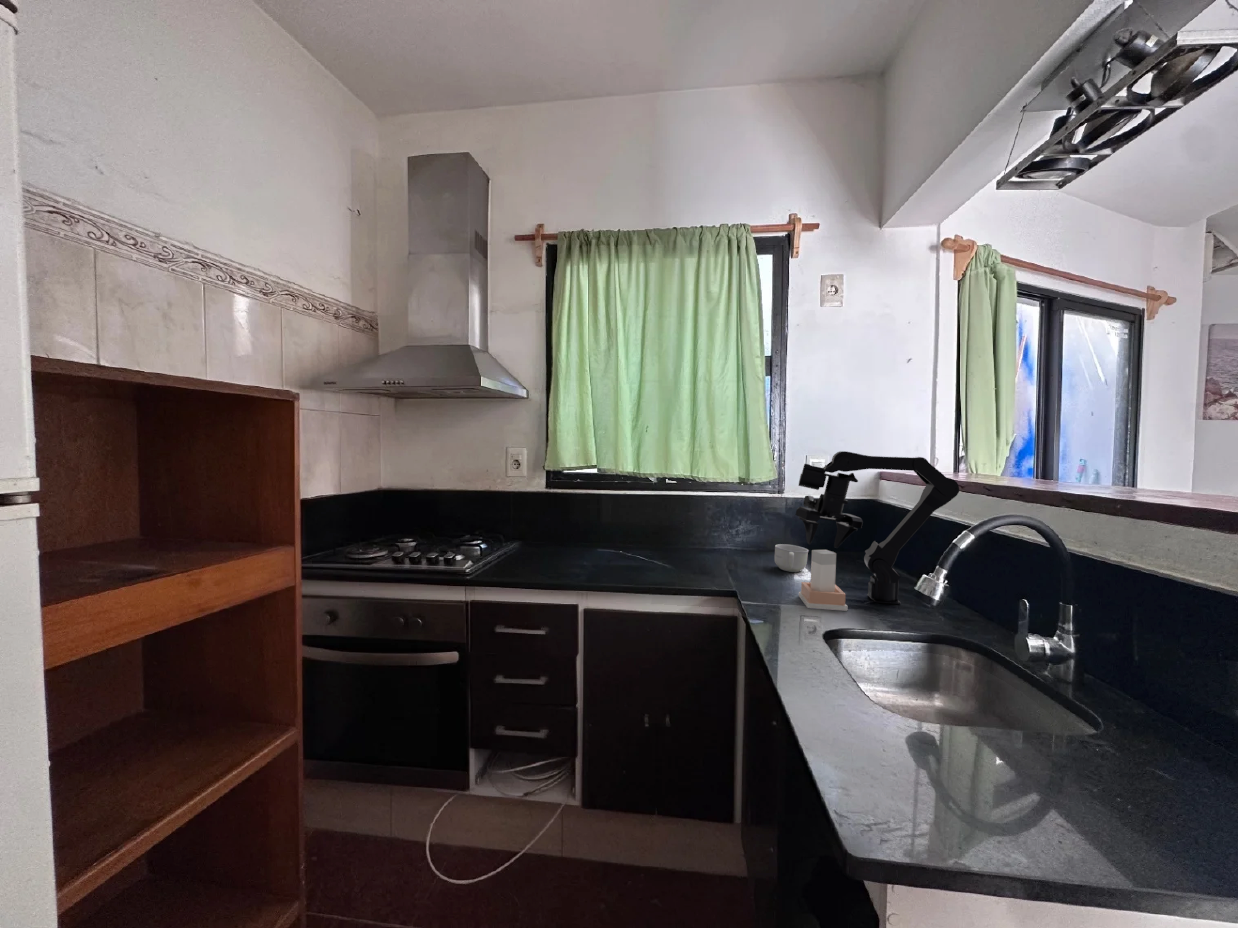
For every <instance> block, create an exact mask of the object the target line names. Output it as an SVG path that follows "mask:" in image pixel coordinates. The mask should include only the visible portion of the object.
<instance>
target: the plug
mask: <svg viewBox="0 0 1238 928" xmlns="http://www.w3.org/2000/svg"><path fill="white" fill-rule="evenodd" d="M810 563H811V565H810V582H811V586H810V589H811V590H812V591H820V592H835V584H836V571H837V569H836V568H837V553H836V552H834V551H831V550H828V549H812V550H811V561H810Z"/></svg>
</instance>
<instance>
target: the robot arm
mask: <svg viewBox="0 0 1238 928" xmlns="http://www.w3.org/2000/svg"><path fill="white" fill-rule="evenodd" d="M863 470H890V471H891V470H892V471H910V472H911V471H912V472H914V473H915V474H916V476H918V477H919V479H920V480H921V481H922V482H923V483H924V484H925V486H924V488H923V490H922V492H921V495H920V498H919V500H918V501H917V503H916V504H915V505H914V506H913V507H912V508H911V510H910V511H909V512H907V514H906V516H905V517H904V518H903V519H902V520H901V521H900V523H898V525H897V526H896V527H895V528H894V529H893V530H892V532H890V534H889V535H888V536H887V537H886V539H885V540H883V541H881V542H879V543H878V542H876V540H874V541H872V543H871V545H870V546H869V548H867V549H866V550H864V553H865V555H864V557H863V560H864V564H865V565H866V567H867V568H868V570H869V571H870V572H871V573H872V574H873V575H870V581H868V587H867V588H868V589H867V597H869V598H870V599H871V600H872V601H873V602H874V603H877V604H878V603H880V604H893V605H901V601H900V600H899V587H900V586H899V582H900V581H899V580H900V578H901V575H899V574H898V572H897V571H896V570H895V569H894V568H893V566H894V564H895V563H896V561H897V558H898V555H899V554H900V551H901V549H902V548H903V547H904V546H905V545H906V544H907V543H908V541H909V540H910V539H911V538H912V537H913V536H914V535H915V533H916V532H917V531H918V530H919V529H920V528H921V527H922V526H923V525H924V524H925V522H926V521H927V520H928V519H929V518H930V516H932V515H933V513H934V512H936V511H937V510H938V509H940V508H942V507H943V506H945V505H947V504H948V503H949V502H950V501H952V500H953V499H955V498H956V497H957V496H958V494H959V493H960V486H959V484H958V482H957V481H956V480H954V479H953V478H950V477H946V475H944V474H943V473H942V472H941V471H939V470H938V468H936V467H934V465H932V464H931V463H930V461H928V460H927V459H926V458H925V457H922V456H912V457H907V456H905V457H903V456H886V455H885V456H882V455H866V454H862V453H861V454H860V453H858V452H857V453H855V452H851V451H844V450H840V451H837V452H836V453H835V454H833V456H832V458H831V461H830V462H828V463H827V464H825V465H824V466H823V467H821V466H816V465H815V466H814V465H812V464H809V463H804V465H803V467H802V471H801V473H800V476H799V481H798V487H803V488H807V489H811V490H817V491H819V490H820V488H824V486H825V489H824V492H823V494H822V493H821V494H820V496H819V498H814V496H812V495H805V496H804V499H803V506H799V507H797V508H796V511H795V516H796V517H798V519H799V520H801V521H802V523H803V526H804V530H805V535H806V536H805V538H806V543H807V544H808V545H811V544H812V542H813V540H814V538H815V534H816V532H817V530H818V527H819V525H820V523H819V522H818V521H819V520H825V521H831V522H836V523H835V524H836V528H837V530H836V535H835V538H834V544H833V547H834V548H836V549H838V548H839V547H840V546H841V545H842V544H843V542H845V540H847V538H848V537H850V535H852V534H853V533H854V532H855V531H856V532H857V531H858V529H862V528H863V527H862V526H863V523H864V521H863V518H861V517H859V516H856V515H854V514H851V513H844V512H843V509H844V506H845V505H848V503H849V500H847V498H846V497H847V493H848V490H849V486H850V483H851V482H852V483H858V482H859V480H858V479H857V477H856V476H855V473H854V472H856V471H863ZM842 472H846V473H842ZM847 472H850V473H849V474H848V473H847ZM829 473H830V474H829ZM833 473H837V474H836V475H835V474H833ZM826 479H827V481H826ZM825 483H826V484H825Z"/></svg>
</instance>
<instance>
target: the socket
mask: <svg viewBox="0 0 1238 928" xmlns="http://www.w3.org/2000/svg"><path fill="white" fill-rule="evenodd" d="M810 586H811V581H810V582H808V581H801V587H800V588H801V590H800V591H798V598H800V599H801V601H802V602H803V604H804V606H805V607H806V608H807V609H818V610H831V611H832V610H833V611H843V612H844V611H845V612H847V611H848V608H849V607H848V605H847V604H846V593H845V592H844V591H843V590H842V589H841V588H840V587H839V586H838V585H837V584H836V583H835V592H820V591H812V590H811V589H810Z"/></svg>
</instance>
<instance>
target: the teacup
mask: <svg viewBox="0 0 1238 928" xmlns="http://www.w3.org/2000/svg"><path fill="white" fill-rule="evenodd" d="M808 553H809V549H808V548H805V547H802V546H799V545H795V544H785V543H784V544H783V543H782V544H781V543H779V544H775V546H774V563H775V564H776V566H777V567H778V568H779V569H780V570H782V571H785V572H790V573H800V572H801V571H802V570H804V569H806V566H807V563H808V556H809V555H808Z"/></svg>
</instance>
